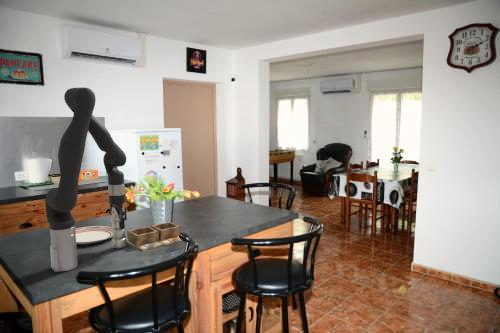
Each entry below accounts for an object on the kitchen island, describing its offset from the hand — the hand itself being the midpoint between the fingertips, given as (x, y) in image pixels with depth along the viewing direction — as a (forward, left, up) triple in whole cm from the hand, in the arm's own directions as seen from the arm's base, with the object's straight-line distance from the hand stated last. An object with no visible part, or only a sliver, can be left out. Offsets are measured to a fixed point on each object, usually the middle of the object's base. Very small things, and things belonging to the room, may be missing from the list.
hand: (118, 226), depth 170 cm
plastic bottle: (0, 0, -11) cm, 11 cm away
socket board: (+18, -3, -10) cm, 21 cm away
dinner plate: (-6, +24, -11) cm, 27 cm away
